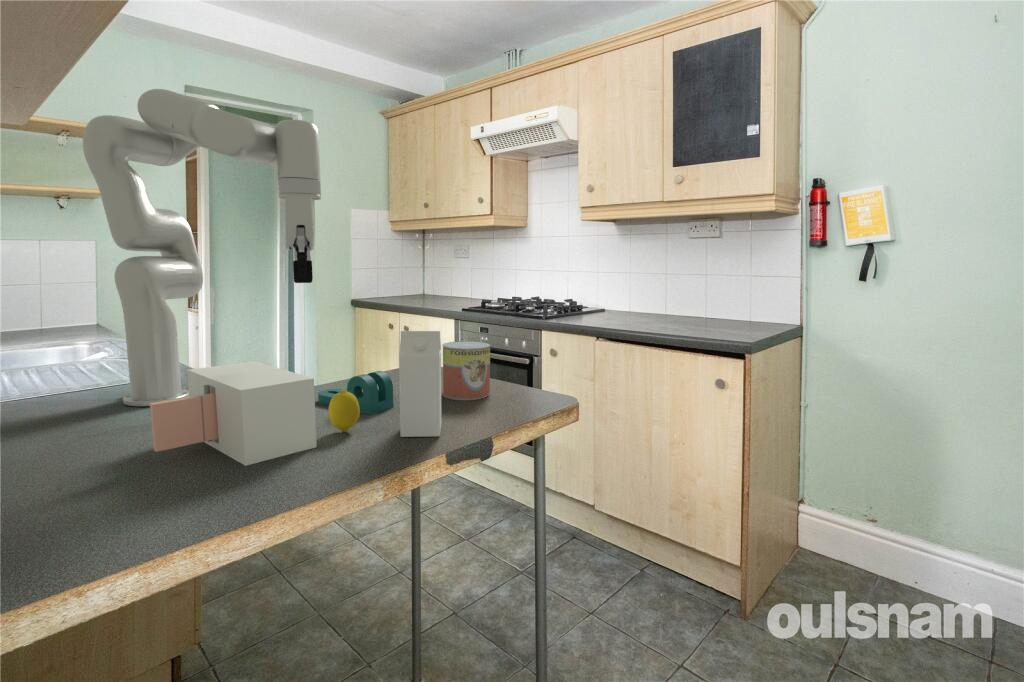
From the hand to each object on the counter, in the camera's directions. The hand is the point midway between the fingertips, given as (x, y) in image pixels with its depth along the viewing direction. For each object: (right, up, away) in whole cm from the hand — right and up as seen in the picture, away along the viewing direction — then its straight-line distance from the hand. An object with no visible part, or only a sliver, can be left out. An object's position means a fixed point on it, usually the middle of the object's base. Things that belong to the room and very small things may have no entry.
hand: (303, 281), depth 109 cm
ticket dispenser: (-5, -29, -10) cm, 31 cm away
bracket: (+5, -26, +15) cm, 30 cm away
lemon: (+9, -29, -4) cm, 30 cm away
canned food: (+29, -24, +26) cm, 46 cm away
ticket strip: (-9, -28, -14) cm, 33 cm away
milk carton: (+23, -29, -3) cm, 37 cm away
